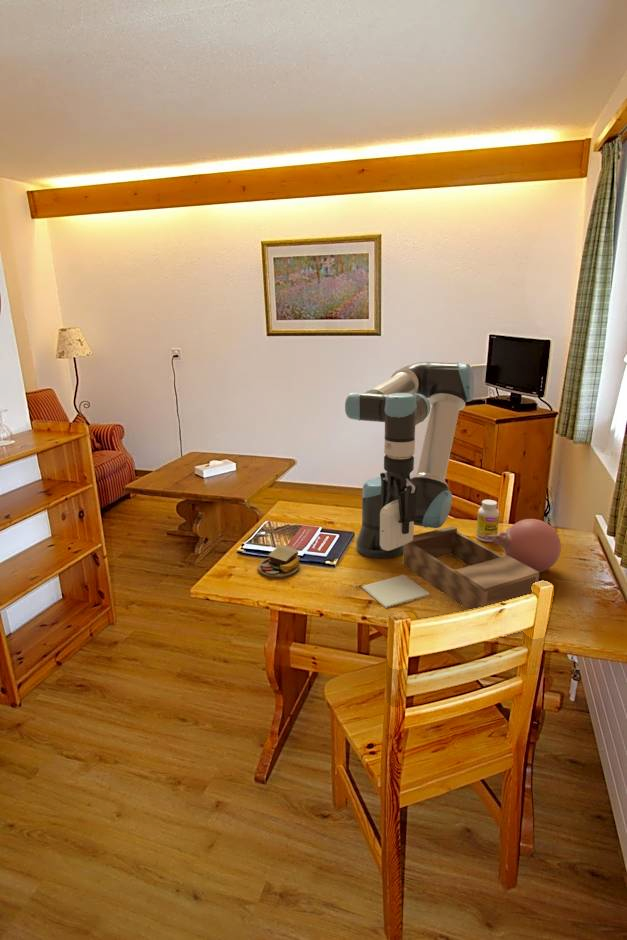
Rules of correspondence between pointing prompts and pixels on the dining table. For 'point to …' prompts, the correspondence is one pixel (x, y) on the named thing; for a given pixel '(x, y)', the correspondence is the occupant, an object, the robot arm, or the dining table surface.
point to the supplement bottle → (487, 520)
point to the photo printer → (391, 526)
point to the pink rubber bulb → (530, 543)
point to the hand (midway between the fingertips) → (396, 539)
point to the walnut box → (467, 569)
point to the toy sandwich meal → (280, 562)
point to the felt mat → (395, 591)
